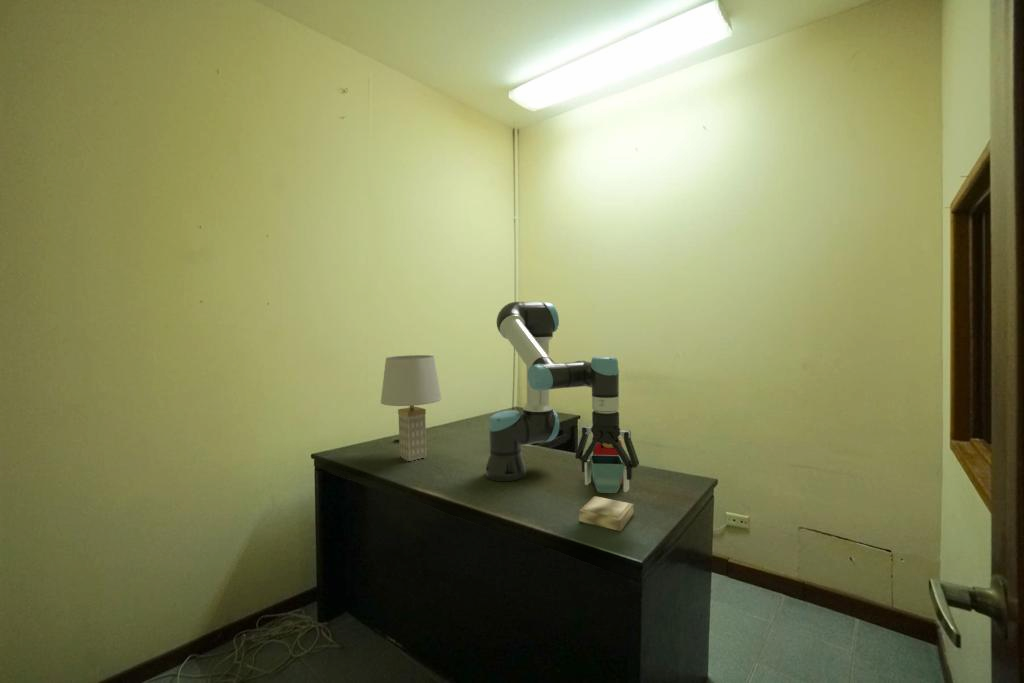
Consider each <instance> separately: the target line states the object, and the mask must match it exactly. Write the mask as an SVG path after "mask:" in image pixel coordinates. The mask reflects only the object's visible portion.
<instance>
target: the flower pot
mask: <svg viewBox="0 0 1024 683" xmlns="http://www.w3.org/2000/svg"><path fill="white" fill-rule="evenodd" d="M589 460H590V467H591V474H592V481H593V480H594V482H593V485H594V484H595V485H594V487H595V488H596V491H597V492H598V493H601V494H602V493H603V494H604V493H606V494H607V493H608V494H616V493H617V492H618V491H619V489H620V487H621V485H622V484H621V483H622V478H623V479H624V476H623V469H624V468H625V465H624V463H623V461H622V460H621V458H620V456H618V455H593V454H591V455H590V456H589Z"/></svg>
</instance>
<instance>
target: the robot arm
mask: <svg viewBox="0 0 1024 683" xmlns="http://www.w3.org/2000/svg"><path fill="white" fill-rule="evenodd" d="M559 322H560V319H559V313H558V311H557V308H556V307H555V306H554V304H552V303H551V302H548V301H547V302H546V301H513V302H510V303H507V304H506V305H504V306H503V307H502V308H501V309H500V311H499V312H498V314H497V317H496V327H497V330H498V332H499V333H500V336H502V337H503V338H504V339H506V340H508V341H509V343H510V344H511V346H512V347H513V349H514V350H515V351H516V353H517V354H518V356H519V357H520V359H521V361H522V362H523V364H525V366H526V404H525V405H523V407H522V413H520V411H519V410H517V409H516V410H515V409H513V410H512V409H511V410H503V411H498V412H496V413H494V414H492V415H491V416H490V417H489V426H488V431H489V432H488V433H489V456H488V461H487V464H486V467H485V476H486V478H488V479H489V480H491V481H495V482H512V481H513V482H514V481H517V480H518V481H519V480H521V479H523V478H525V477H526V475H527V469H526V465H525V462H524V459H523V455H522V452H521V451H522V449H521V448H522V446H524V445H531V444H540V443H542V444H543V443H546V442H551V441H553V440H555V439H556V437H557V436H558V434H559V430H560V419H559V416H558V413H557V412H556V411H555V410H554V406H552V405H551V404H550V390H555V389H568V388H579V387H587V388H591V408H592V410H593V411H592V412H591V420H592V423H591V424H592V426H589V425H585V426H583V427H581V438H580V439H579V440H580V441H579V444H578V447H577V449H576V452H575V459H576V460H579V461H581V472H582V473H584V485H585V486H588V485H589V484H590V483H591V482H592V480H591V478H592V477H591V474H592V470H591V461H590V455H592V454H593V450H594V449H595V447H596V445H597V444H598V443H599V442H600V443H606V444H612V446H613V447H614V448H615V450H616V451H617V453H618V455H619V456H620V458H621V460H622V461H623V463H624V469H623V492H624V493H627V492H628V491H629V490H630V481H631V480H632V479H633V477H634V475H633V469H634V468H637V467H638V466H639V465H640V460H639V459H638V456H637V453H636V450H635V447H634V444H633V441H632V437H631V436H632V432H631V430H621V429H620V412H619V410H620V400H619V398H620V397H619V395H620V394H619V393H620V392H619V389H620V387H619V385H620V384H619V381H620V380H619V377H620V376H619V373H620V369H619V362H618V359H617V357H616V356H593V357H592V358H591V361H586V360H576V361H571V362H557V363H556V362H555V361H554V360H553V358H552V357H550V350H549V349H550V347H549V346H550V343H549V342H550V341H551V340H552V339H553V335H554V333H555V332H557V331H558V329H559V328H558V327H559V325H560V323H559ZM591 433H592V436H593V435H594V436H595V438H594V439H593V441H591V443H590V444H589V446H588V447H587V449H586V451H585V447H586V445H587V441H588V439H589V437H590V436H589V435H590V434H591ZM620 435H621V438H622V439H623V442H624V445H625V448H626V450H625V449H624V447H623V445H621V443H622V442H621V443H620V441H619V440H620ZM618 437H619V439H618ZM584 451H585V452H584ZM627 453H628V454H627Z"/></svg>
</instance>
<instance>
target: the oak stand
mask: <svg viewBox="0 0 1024 683" xmlns="http://www.w3.org/2000/svg"><path fill="white" fill-rule="evenodd" d="M634 510H635V508H634V503H630V502H625V501H621V500H615V499H611V498H605V497H601V496H597V495H596V496H595V495H594V496H593V497H592V498H591V499H590V500H589V501H587V503H586V504H585V505H584V506H582V508H580V509H579V511H578V517H579V518H578V521H579V522H582V523H586V524H590V525H592V526H593V525H594V526H597V527H602V528H606V529H611V530H614V531H619V532H622V531H623V529H624V527H626V524H628V522H629V521H630V519H631V518H632V517H633V515H634V512H635V511H634Z"/></svg>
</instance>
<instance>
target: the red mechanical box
mask: <svg viewBox="0 0 1024 683" xmlns="http://www.w3.org/2000/svg"><path fill="white" fill-rule="evenodd" d="M594 438H595V436H594V435H593V434H592V438H591V440H592V441H593V439H594ZM618 439H619V441H620V443H621V445H622V444H623V443H622V440H620V436H619V437H618ZM592 441H591V442H592ZM622 446H623V445H622ZM592 455H618V453H617V451H616V450H615V448H614V447H613V446H612V444H606V443H600V442H599V443H598V444H597V445H596V447H595V449H594V450H593V452H592ZM618 456H619V455H618ZM592 482H593V486H595V484H594V480H593V479H592ZM621 485H624V477H623V478H622V483H621Z"/></svg>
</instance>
